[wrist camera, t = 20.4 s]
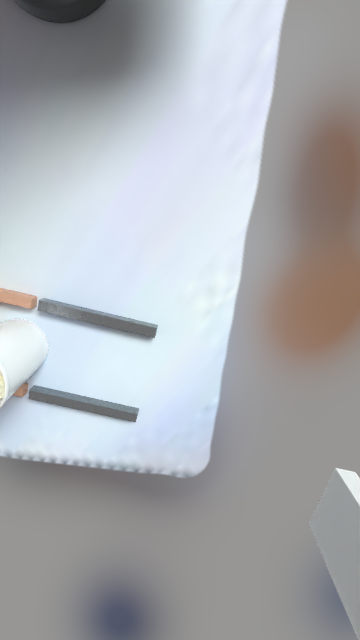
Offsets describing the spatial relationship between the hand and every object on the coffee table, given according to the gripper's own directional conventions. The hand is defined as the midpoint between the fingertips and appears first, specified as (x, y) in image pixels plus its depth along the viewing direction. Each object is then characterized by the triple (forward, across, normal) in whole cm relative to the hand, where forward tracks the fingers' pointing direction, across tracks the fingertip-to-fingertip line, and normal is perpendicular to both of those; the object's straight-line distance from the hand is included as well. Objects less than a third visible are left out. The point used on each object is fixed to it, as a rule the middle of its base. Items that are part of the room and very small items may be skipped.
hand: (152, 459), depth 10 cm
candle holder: (+32, -22, -13) cm, 41 cm away
